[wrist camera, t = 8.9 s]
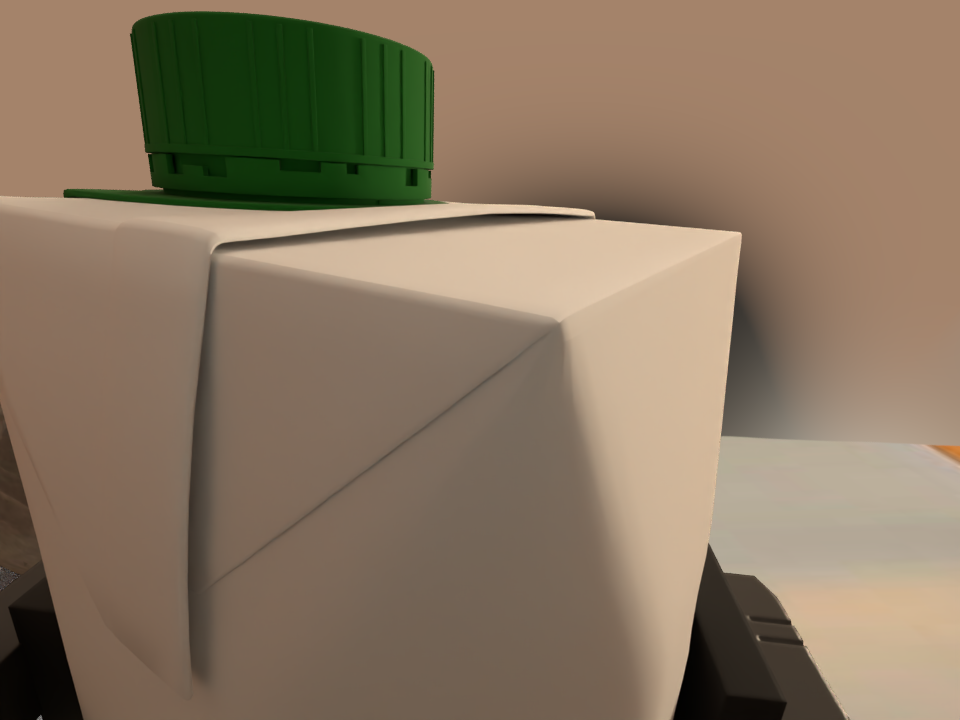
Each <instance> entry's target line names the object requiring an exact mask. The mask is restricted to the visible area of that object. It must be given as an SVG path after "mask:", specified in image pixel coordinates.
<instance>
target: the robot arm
mask: <svg viewBox="0 0 960 720" xmlns="http://www.w3.org/2000/svg"><path fill="white" fill-rule="evenodd" d="M40 715H41V716H42V719H43V720H84V719H83V716H82V712H81V708H80V704H79V701H78V697H77V693H76V690H75V686H74V682H73V678H72V675H71V671H70V667H69V664H68V660H67V656H66V652H65V648H64V644H63V640H62V636H61V632H60V629H59V625H58V621H57V617H56V613H55V609H54V605H53V601H52V597H51V593H50V589H49V585H48V581H47V577H46V573H45V569H44V565H43V560H40V561H39V562H38V563H37V564H35V565H34V566H33V567H31V568H30V569H29V570H28V571H26V572H25V573H24V574H22V575H21V576H20V577H18V578H17V579H16V580H15V581H13V582H12V583H11V584H9V585H8V586H7V587H6V588H4V589H3V590H2V591H0V720H36V719H37V718H38V717H39V716H40ZM673 720H850V719H849V717H848V716H847V714H846V712H845V711H844V709H843V707H842V706H841V704H840V702H839V700H838V699H837V697H836V695H835V694H834V692H833V690H832V689H831V687H830V685H829V684H828V682H827V680H826V679H825V677H824V675H823V674H822V672H821V670H820V669H819V667H818V665H817V663H816V662H815V660H814V658H813V657H812V655H811V653H810V652H809V650H808V648H807V647H806V646H804V645H803V640H802V638H801V637H800V635H799V633H798V631H797V630H796V628H795V626H792V625H791V620H790V618H789V616H788V615H787V613H786V611H785V610H784V608H783V606H782V605H781V603H780V601H779V600H778V598H777V597H776V596H775V595H774V594H773V593H772V592H771V591H770V590H769V589H768V588H767V587H766V586H764V585H763V584H762V583H761V582H760V581H759V580H758V579H757V578H756V577H755V576H750V575H741V574H731V573H723V571H722V569H721V567H720V565H719V563H718V561H717V559H716V557H715V555H714V553H713V551H712V549H711V547H710V545H709V543H708V548H707V554H706V559H705V563H704V568H703V572H702V577H701V581H700V586H699V590H698V595H697V601H696V607H695V612H694V618H693V624H692V630H691V638H690V646H689V653H688V658H687V662H686V667H685V671H684V676H683V680H682V684H681V688H680V692H679V697H678V701H677V705H676V709H675V713H674V717H673Z"/></svg>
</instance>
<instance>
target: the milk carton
mask: <svg viewBox="0 0 960 720" xmlns="http://www.w3.org/2000/svg"><path fill="white" fill-rule="evenodd" d="M130 37H131V43H132V51H133V58H134V66H135V74H136V81H137V89H138V96H139V104H140V111H141V118H142V126H143V133H144V141H145V152H146V153H153V154H148V158H149V164H150V172H151V179H152V186H154V187H160V188H163V190H142V191H130V190H101V189H67V190H64V193H63V194H64V198H43V197H42V198H41V197H11V196H0V403H1V407H2V411H3V414H4V418H5V422H6V425H7V429H8V433H9V436H10V440H11V444H12V447H13V451H14V455H15V458H16V462H17V466H18V469H19V473H20V477H21V480H22V484H23V488H24V491H25V495H26V499H27V503H28V507H29V510H30V514H31V518H32V522H33V525H34V529H35V533H36V537H37V540H38V544H39V548H40V552H41V556H42V560H43V565H44V569H45V573H46V577H47V581H48V585H49V589H50V593H51V597H52V601H53V605H54V609H55V613H56V617H57V621H58V625H59V629H60V632H61V636H62V640H63V644H64V648H65V652H66V656H67V660H68V664H69V667H70V671H71V675H72V678H73V682H74V686H75V690H76V693H77V697H78V701H79V704H80V708H81V712H82V716H83V719H84V720H673V717H674V713H675V709H676V705H677V701H678V697H679V692H680V688H681V684H682V680H683V676H684V671H685V667H686V662H687V658H688V653H689V646H690V638H691V630H692V624H693V618H694V612H695V607H696V601H697V595H698V590H699V586H700V581H701V577H702V572H703V568H704V563H705V559H706V554H707V548H708V541H709V535H710V528H711V522H712V515H713V505H714V496H715V486H716V476H717V467H718V457H719V447H720V438H721V427H722V418H723V408H724V397H725V388H726V379H727V368H728V360H729V349H730V340H731V330H732V320H733V310H734V299H735V290H736V280H737V271H738V263H739V255H740V247H741V238H742V234H741V233H740V232H731V231H720V230H709V229H696V228H685V227H674V226H664V225H652V224H641V223H630V222H618V221H607V220H595V215H594V213H593V212H592V211H588V210H583V209H574V208H573V209H572V208H563V207H546V206H535V205H503V204H466V203H454V202H440V201H433V200H425V199H428V198H431V171H428V170H433V165H434V164H433V131H434V123H433V122H434V71H433V67H432V63H431V62H430V60H429V59H428V58H427V57H426V56H425V55H423V54H422V53H420V52H418V51H416V50H414V49H412V48H410V47H408V46H406V45H403V44H401V43H398V42H395V41H393V40H390V39H386V38H383V37H380V36H376V35H373V34H369V33H365V32H361V31H357V30H353V29H349V28H344V27H339V26H334V25H329V24H324V23H319V22H312V21H307V20H300V19H293V18H285V17H277V16H269V15H259V14H248V13H234V12H209V11H208V12H207V11H199V12H198V11H196V12H173V13H165V14H158V15H153V16H148V17H145V18H142V19H140V20H138V21H137V22H136V23H135V24H134V25H133V27H132V34H130Z"/></svg>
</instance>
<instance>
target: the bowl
mask: <svg viewBox="0 0 960 720" xmlns="http://www.w3.org/2000/svg"><path fill="white" fill-rule="evenodd" d="M40 560H42V556H41V552H40V548H39V544H38V540H37V537H36V533H35V529H34V525H33V522H32V518H31V514H30V510H29V507H28V503H27V499H26V495H25V491H24V488H23V484H22V480H21V477H20V473H19V469H18V466H17V462H16V458H15V455H14V451H13V447H12V444H11V440H10V436H9V433H8V429H7V425H6V422H5V418H4V414H3V411H2V407H1V403H0V566H1V567H4V568H6V569H8V570H10V571H12V572H15V573H17V574H19V575H22V574H24V573H25V572H26V571H28V570H29V569H30V568H31V567H33V566H34V565H35V564H37V563H38V562H39V561H40Z"/></svg>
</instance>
